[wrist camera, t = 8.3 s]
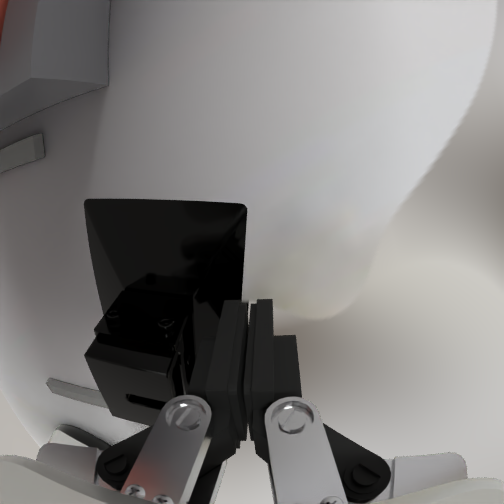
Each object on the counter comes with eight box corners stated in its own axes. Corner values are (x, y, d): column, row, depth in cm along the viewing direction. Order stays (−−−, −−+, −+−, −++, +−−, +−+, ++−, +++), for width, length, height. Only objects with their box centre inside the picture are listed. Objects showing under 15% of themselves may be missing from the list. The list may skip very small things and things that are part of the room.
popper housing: (-4, 6, 5) (-55, 1, 1) (120, -67, 4) (76, -107, 1) (-14, 138, 8) (-73, 157, 5) (108, 85, 8) (30, 77, 4)
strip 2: (49, 377, 15) (45, 383, 15) (127, 397, 15) (124, 404, 14) (55, 386, 16) (52, 392, 15) (133, 406, 15) (130, 413, 14)
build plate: (240, 405, 15) (233, 475, 11) (123, 385, 15) (97, 444, 11) (259, 183, 9) (252, 237, 5) (76, 178, 10) (-7, 219, 5)
